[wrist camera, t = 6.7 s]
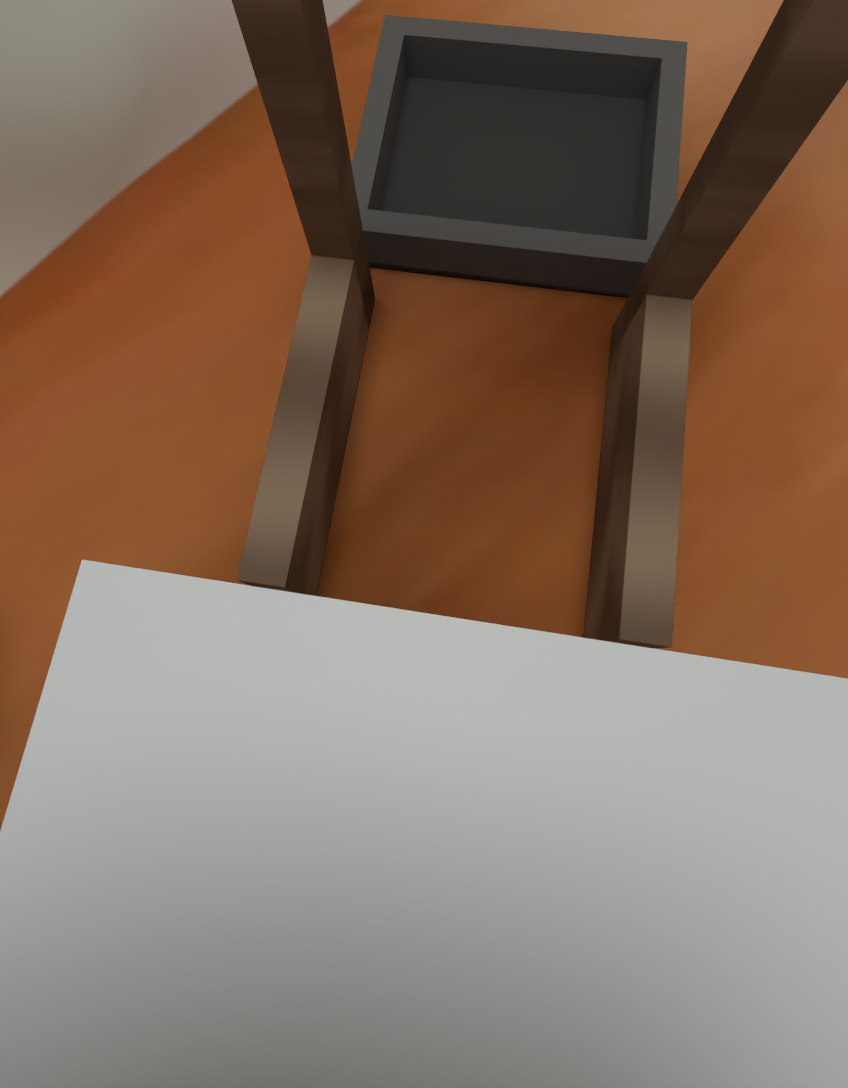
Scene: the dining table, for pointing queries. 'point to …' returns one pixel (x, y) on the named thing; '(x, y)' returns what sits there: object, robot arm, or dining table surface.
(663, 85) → the box
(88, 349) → the dining table surface
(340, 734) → the block
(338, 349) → the wooden gate frame
